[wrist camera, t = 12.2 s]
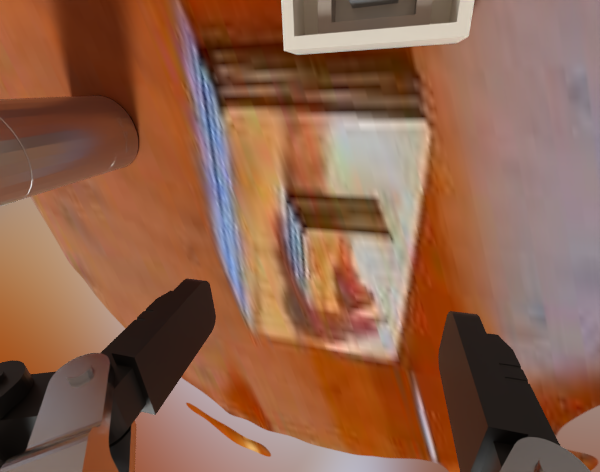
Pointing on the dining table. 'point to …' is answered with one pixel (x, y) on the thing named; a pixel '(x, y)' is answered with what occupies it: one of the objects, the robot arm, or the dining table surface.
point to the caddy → (372, 24)
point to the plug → (370, 3)
